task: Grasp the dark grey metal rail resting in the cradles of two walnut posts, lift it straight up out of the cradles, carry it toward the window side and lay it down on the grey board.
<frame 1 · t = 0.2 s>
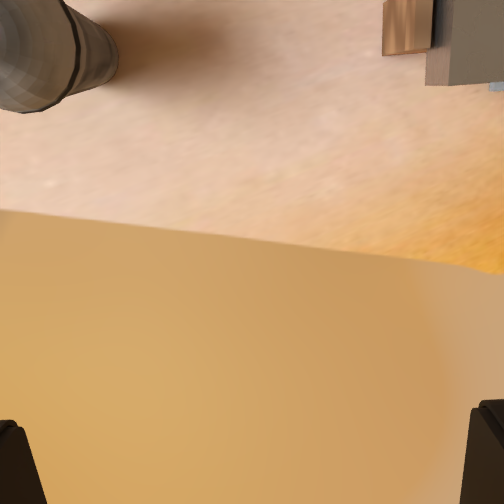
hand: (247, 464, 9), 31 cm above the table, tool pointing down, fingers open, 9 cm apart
beverage cup: (90, 55, 35), on the table
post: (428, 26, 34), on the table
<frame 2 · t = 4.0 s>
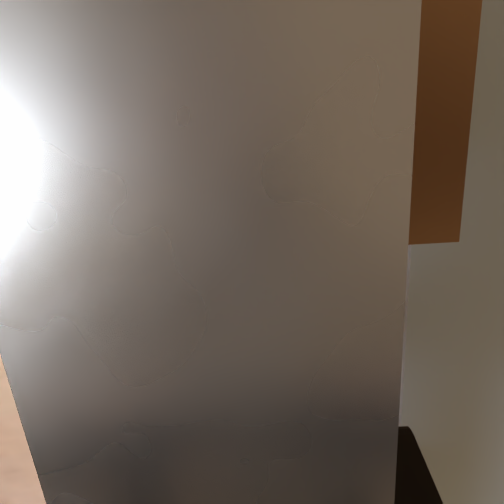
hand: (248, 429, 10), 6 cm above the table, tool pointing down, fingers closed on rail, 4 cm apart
rail: (248, 445, 10), point 6 cm above the table, touching gripper, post, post
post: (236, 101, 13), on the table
when the fingers open (2 cm above the table, at t = 10.9 s): rail drops 1 cm, resting on grey board.
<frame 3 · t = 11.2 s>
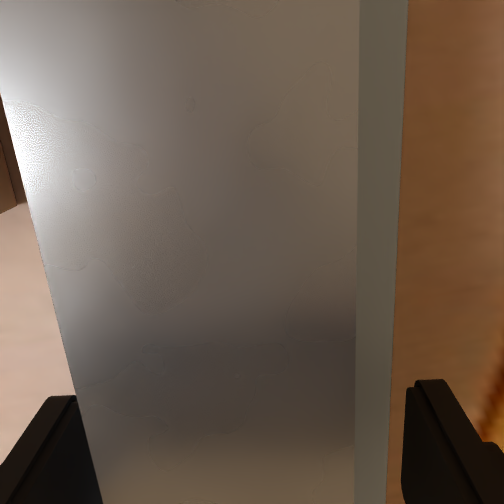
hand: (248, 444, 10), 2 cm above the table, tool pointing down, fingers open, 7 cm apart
grey board: (250, 381, 12), on the table
rail: (243, 400, 11), point 1 cm above the table, touching grey board
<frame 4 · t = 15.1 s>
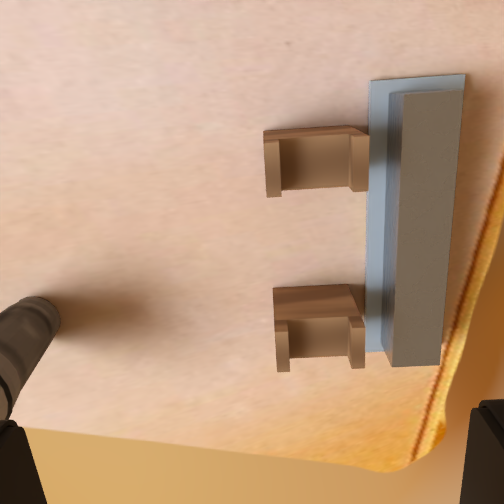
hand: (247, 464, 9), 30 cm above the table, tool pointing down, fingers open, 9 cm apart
beverage cup: (37, 316, 43), on the table
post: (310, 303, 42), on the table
grey board: (407, 226, 39), on the table
rail: (408, 228, 38), point 1 cm above the table, touching grey board
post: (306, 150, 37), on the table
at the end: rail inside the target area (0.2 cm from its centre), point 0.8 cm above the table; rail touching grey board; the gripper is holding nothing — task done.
